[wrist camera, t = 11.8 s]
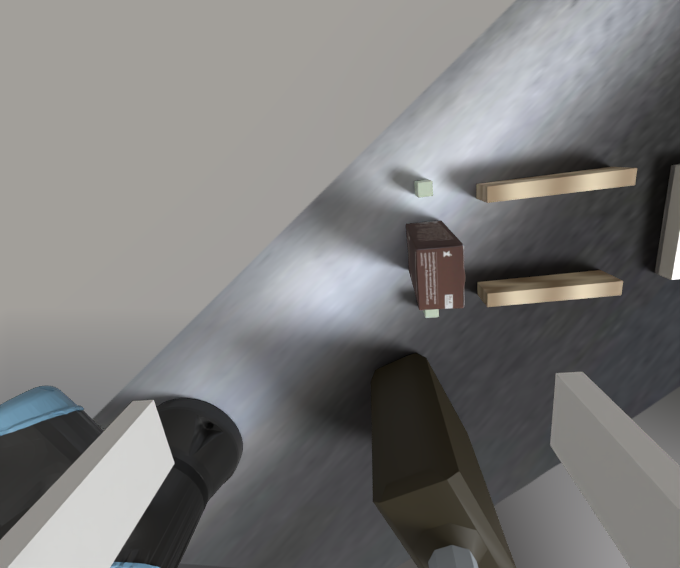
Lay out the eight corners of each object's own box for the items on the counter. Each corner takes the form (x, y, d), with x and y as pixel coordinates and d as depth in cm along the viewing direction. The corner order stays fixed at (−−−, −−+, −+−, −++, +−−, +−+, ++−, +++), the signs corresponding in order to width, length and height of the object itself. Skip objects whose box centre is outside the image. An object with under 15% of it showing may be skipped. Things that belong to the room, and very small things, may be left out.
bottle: (420, 345, 48) (472, 531, 24) (469, 435, 52) (554, 668, 28) (366, 369, 49) (365, 564, 26) (417, 454, 53) (457, 688, 30)
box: (402, 223, 43) (415, 248, 31) (441, 219, 42) (469, 243, 31) (405, 272, 44) (418, 312, 33) (443, 269, 44) (469, 308, 33)
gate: (422, 308, 46) (425, 317, 43) (414, 181, 41) (417, 183, 38) (434, 306, 46) (438, 316, 43) (427, 179, 41) (432, 181, 38)
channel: (477, 294, 45) (487, 307, 41) (476, 183, 40) (487, 186, 37) (599, 282, 43) (621, 294, 39) (610, 166, 39) (637, 168, 35)
